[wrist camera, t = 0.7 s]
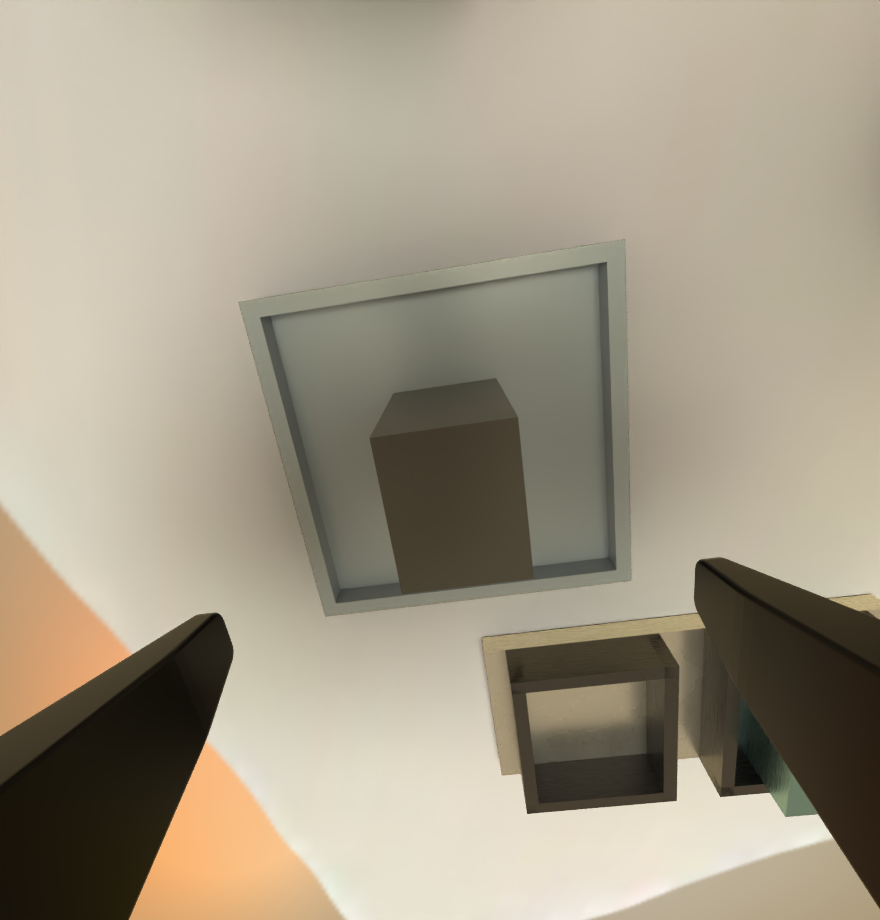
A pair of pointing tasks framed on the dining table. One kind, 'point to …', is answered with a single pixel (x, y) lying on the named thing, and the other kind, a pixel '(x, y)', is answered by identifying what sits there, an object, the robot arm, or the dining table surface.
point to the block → (453, 487)
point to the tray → (446, 363)
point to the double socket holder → (629, 715)
